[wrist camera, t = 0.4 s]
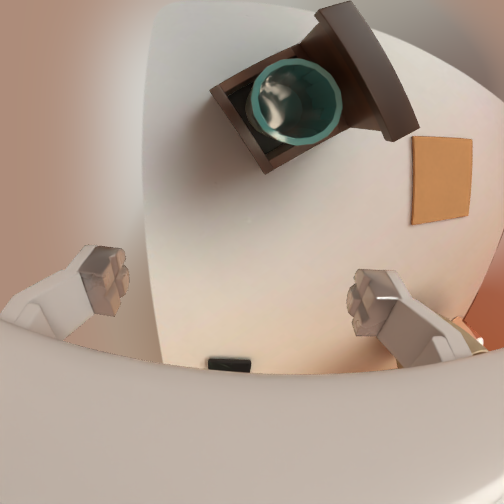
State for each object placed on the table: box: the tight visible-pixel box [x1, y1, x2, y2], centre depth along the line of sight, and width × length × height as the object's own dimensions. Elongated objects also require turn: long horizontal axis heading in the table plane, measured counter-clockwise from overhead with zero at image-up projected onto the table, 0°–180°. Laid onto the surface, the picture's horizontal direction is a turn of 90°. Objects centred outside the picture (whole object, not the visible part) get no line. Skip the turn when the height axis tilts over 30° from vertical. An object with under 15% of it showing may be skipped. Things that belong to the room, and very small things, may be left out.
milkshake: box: [452, 316, 483, 345], centre depth 39 cm, size 4×5×10 cm
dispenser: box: [209, 1, 420, 174], centre depth 20 cm, size 12×10×13 cm
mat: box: [411, 136, 472, 225], centre depth 30 cm, size 12×12×1 cm
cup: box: [245, 58, 343, 146], centre depth 21 cm, size 6×6×11 cm
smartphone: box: [208, 359, 251, 373], centre depth 45 cm, size 7×1×15 cm
